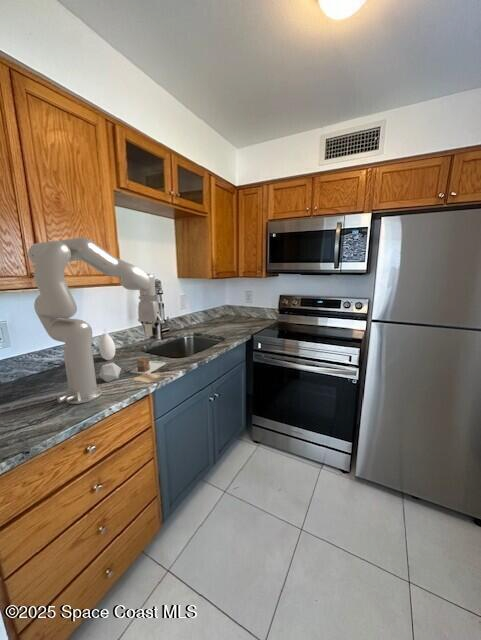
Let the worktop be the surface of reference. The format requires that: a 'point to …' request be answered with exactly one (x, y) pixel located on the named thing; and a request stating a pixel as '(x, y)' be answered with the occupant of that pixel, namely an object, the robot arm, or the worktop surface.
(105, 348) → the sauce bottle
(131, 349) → the worktop surface
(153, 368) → the tray
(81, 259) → the robot arm
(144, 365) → the walnut block
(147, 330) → the label box
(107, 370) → the die
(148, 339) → the worktop surface
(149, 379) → the pad
